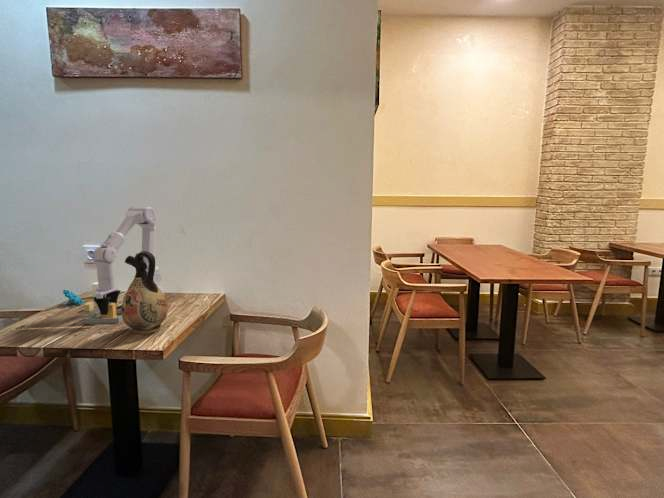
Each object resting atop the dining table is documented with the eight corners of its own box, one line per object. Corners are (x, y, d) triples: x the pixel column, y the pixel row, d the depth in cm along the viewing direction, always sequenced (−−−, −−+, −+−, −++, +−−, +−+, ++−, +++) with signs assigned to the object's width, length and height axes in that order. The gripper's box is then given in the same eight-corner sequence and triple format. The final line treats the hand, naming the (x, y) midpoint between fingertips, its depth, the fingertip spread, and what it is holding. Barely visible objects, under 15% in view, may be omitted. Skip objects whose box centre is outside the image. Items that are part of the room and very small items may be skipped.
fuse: (116, 317, 161) (115, 301, 160) (113, 319, 158) (112, 303, 157) (104, 317, 161) (103, 302, 160) (101, 320, 158) (100, 304, 157)
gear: (81, 304, 175) (62, 289, 173) (71, 315, 174) (51, 300, 171) (88, 301, 185) (70, 287, 183) (78, 311, 184) (59, 297, 182)
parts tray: (130, 315, 166) (130, 309, 166) (119, 324, 154) (118, 318, 154) (100, 315, 165) (99, 310, 164) (85, 325, 153) (85, 319, 153)
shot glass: (88, 298, 191) (87, 284, 190) (98, 294, 198) (97, 280, 197) (101, 299, 190) (100, 284, 189) (111, 295, 196) (110, 281, 195)
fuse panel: (118, 307, 176) (117, 299, 175) (108, 314, 166) (108, 306, 166) (89, 308, 175) (88, 300, 174) (77, 315, 165) (77, 306, 164)
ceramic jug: (112, 334, 144) (106, 251, 140) (146, 321, 158) (142, 246, 154) (149, 341, 138) (143, 254, 134) (181, 327, 152) (177, 248, 148)
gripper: (103, 274, 164) (105, 306, 166) (86, 282, 150) (89, 317, 152) (121, 273, 165) (123, 306, 167) (106, 281, 150) (109, 317, 152)
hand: (108, 311), depth 159 cm, fingers open, 7 cm apart
